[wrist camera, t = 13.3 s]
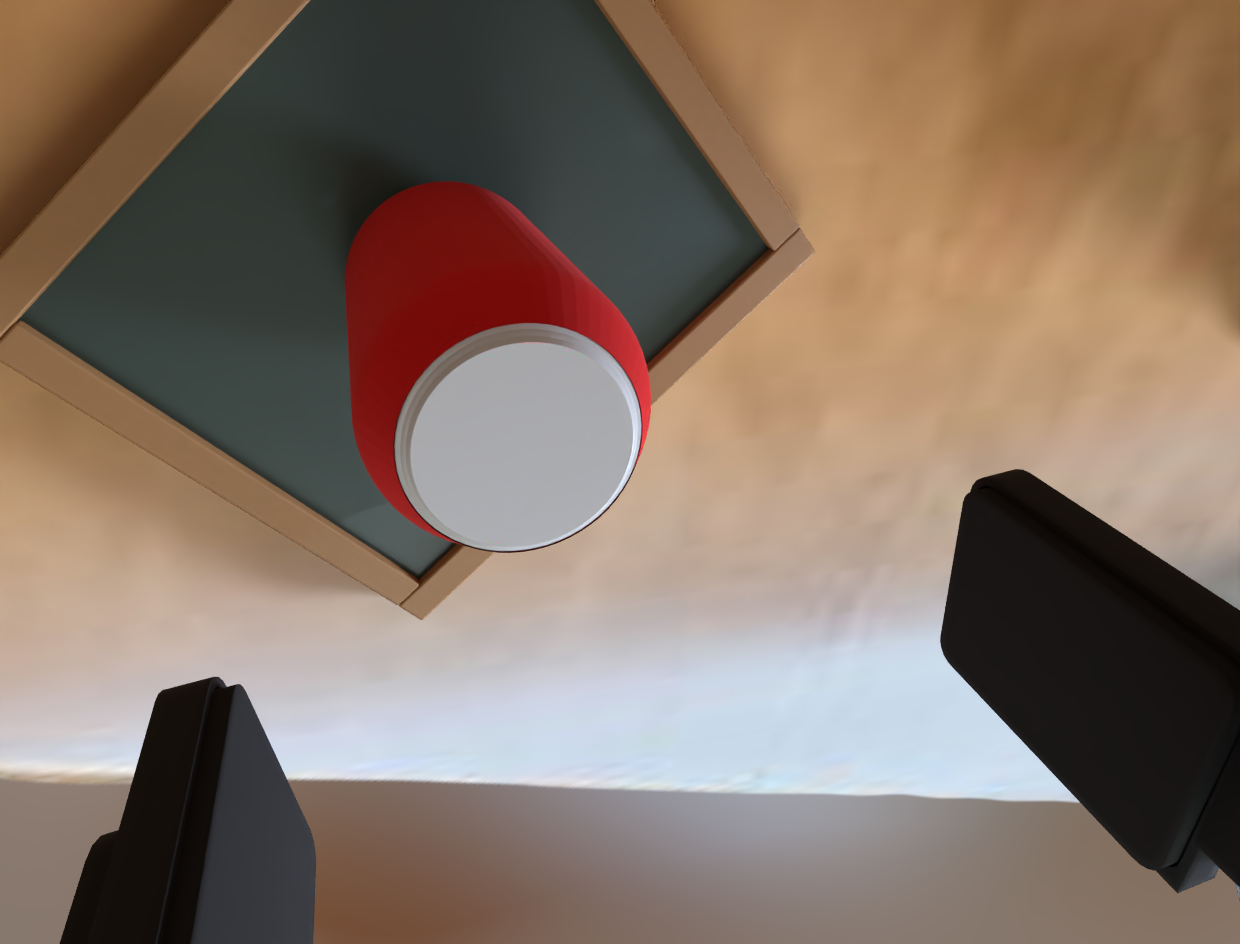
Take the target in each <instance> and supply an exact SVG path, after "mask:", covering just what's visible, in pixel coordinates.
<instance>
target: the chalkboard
mask: <svg viewBox="0 0 1240 944" xmlns="http://www.w3.org/2000/svg"><path fill="white" fill-rule="evenodd" d="M440 181H452V182H462V183H467V184H472V185H475V186H479V187H482V188H484V189H487V190H489V191H492V192H493V193H495V194H497V195H499V196H501V197H502V198H504V199H505V200H507V201H508V202H510V203H511V204H512V205H513V206H515V207H516V208H517V209H518V210H519V211H520V212H521V213H522V214H523V215H524V216H525V217H526V218H527V219H528V220H529V221H530V222H531V223H532V224H533V225H534V226H535V227H536V228H538V229H539V230H540V231H541V232H542V233H543V234H544V235H545V236H546V237H547V238H548V239H549V240H550V241H551V242H552V243H553V244H554V245H555V246H556V247H557V248H558V249H559V250H560V251H561V252H562V253H563V254H564V255H565V256H566V257H567V258H568V259H569V260H570V261H571V262H572V263H573V264H574V265H575V266H576V267H577V268H578V269H579V270H580V271H581V272H582V273H583V274H584V275H585V276H586V277H587V278H588V279H589V280H590V281H591V282H592V283H593V284H594V285H595V286H596V287H597V288H598V289H599V290H600V291H601V292H602V293H603V294H604V295H605V296H606V297H607V298H608V299H609V300H610V301H611V302H612V303H613V304H614V305H615V306H616V307H617V308H618V310H619V311H620V312H621V314H622V315H623V316H624V318H625V319H626V320H627V322H628V323H629V325H630V327H631V328H632V330H633V332H634V334H635V335H636V337H637V340H638V342H639V344H640V347H641V349H642V352H643V355H644V358H645V361H646V365H647V369H648V374H649V380H650V389H651V405H652V404H654V403H655V402H656V401H657V400H658V399H659V398H660V397H661V396H662V395H663V394H664V393H665V392H666V391H667V390H669V389H670V388H671V387H672V386H673V385H674V384H675V383H676V382H677V381H678V380H679V379H680V378H681V377H682V376H683V375H685V374H686V373H687V372H688V371H689V370H690V369H691V368H692V367H693V366H694V365H695V364H696V363H697V362H698V361H699V360H701V359H702V358H703V357H704V356H705V355H706V354H707V353H708V352H709V351H710V350H711V349H712V348H713V347H714V346H716V345H717V344H718V343H719V342H720V341H721V340H722V339H723V338H724V337H725V336H726V335H727V334H728V333H729V332H730V331H732V330H733V329H734V328H735V327H736V326H737V325H738V324H739V323H740V322H741V321H742V320H743V319H744V318H745V317H746V316H748V315H749V314H750V313H751V312H752V311H753V310H754V309H755V308H756V307H757V306H758V305H759V304H760V303H761V302H763V301H764V300H765V299H766V298H767V297H768V296H769V295H770V294H771V293H772V292H773V291H774V290H775V289H776V288H777V287H779V286H780V285H781V284H782V283H783V282H784V281H785V280H786V279H787V278H788V277H789V276H790V275H791V274H792V273H793V272H795V271H796V270H797V269H798V268H799V267H800V266H801V265H802V264H803V263H804V262H805V261H806V260H807V259H808V258H810V257H811V256H812V255H813V254H814V252H815V250H814V248H813V247H812V245H811V244H810V242H809V241H808V239H807V238H806V236H805V235H804V233H803V232H802V230H801V229H800V228H799V225H798V224H797V222H796V221H795V219H794V217H793V216H792V214H791V213H790V211H789V210H788V208H787V207H786V205H785V204H784V202H783V201H782V199H781V198H780V196H779V195H778V193H777V192H776V190H775V189H774V187H773V186H772V184H771V183H770V181H769V180H768V178H767V177H766V175H765V174H764V172H763V171H762V169H761V168H760V166H759V164H758V163H757V161H756V160H755V158H754V157H753V155H752V154H751V152H750V151H749V149H748V148H747V146H746V145H745V143H744V142H743V140H742V139H741V137H740V136H739V134H738V133H737V131H736V130H735V128H734V127H733V125H732V124H731V122H730V121H729V119H728V118H727V116H726V115H725V113H724V111H723V110H722V108H721V107H720V105H719V104H718V102H717V101H716V99H715V98H714V96H713V95H712V93H711V92H710V90H709V89H708V87H707V86H706V84H705V83H704V81H703V80H702V78H701V77H700V75H699V74H698V72H697V71H696V69H695V68H694V66H693V65H692V63H691V62H690V60H689V58H688V57H687V55H686V54H685V52H684V51H683V49H682V48H681V46H680V45H679V43H678V42H677V40H676V39H675V37H674V36H673V34H672V33H671V31H670V30H669V28H668V27H667V25H666V24H665V22H664V21H663V19H662V18H661V16H660V15H659V13H658V12H657V10H656V9H655V7H654V5H653V4H652V2H651V1H650V0H230V1H229V2H228V3H227V4H226V5H225V6H224V7H223V9H222V10H221V11H220V12H219V13H218V14H217V15H216V16H215V17H214V19H213V20H212V21H211V22H210V23H209V24H208V25H207V26H206V27H205V29H204V30H203V31H202V32H201V33H200V34H199V35H198V36H197V37H196V39H195V40H194V41H193V42H192V43H191V44H190V45H189V46H188V47H187V49H186V50H185V51H184V52H183V53H182V54H181V55H180V56H179V57H178V59H177V60H176V61H175V62H174V63H173V64H172V65H171V66H170V67H169V69H168V70H167V71H166V72H165V73H164V74H163V75H162V76H161V77H160V79H159V80H158V81H157V82H156V83H155V84H154V85H153V86H152V87H151V89H150V90H149V91H148V92H147V93H146V94H145V95H144V96H143V97H142V99H141V100H140V101H139V102H138V103H137V104H136V105H135V106H134V107H133V109H132V110H131V111H130V112H129V113H128V114H127V115H126V116H125V118H124V119H123V120H122V121H121V122H120V123H119V124H118V125H117V126H116V128H115V129H114V130H113V131H112V132H111V133H110V134H109V135H108V136H107V138H106V139H105V140H104V141H103V142H102V143H101V144H100V145H99V146H98V148H97V149H96V150H95V151H94V152H93V153H92V154H91V155H90V156H89V158H88V159H87V160H86V161H85V162H84V163H83V164H82V165H81V166H80V168H79V169H78V170H77V171H76V172H75V173H74V174H73V175H72V176H71V178H70V179H69V180H68V181H67V182H66V183H65V184H64V185H63V186H62V188H61V189H60V190H59V191H58V192H57V193H56V194H55V195H54V196H53V198H52V199H51V200H50V201H49V202H48V203H47V204H46V205H45V206H44V208H43V209H42V210H41V211H40V212H39V213H38V214H37V215H36V216H35V218H34V219H33V220H32V221H31V222H30V223H29V224H28V225H27V227H26V228H25V229H24V230H23V231H22V232H21V233H20V234H19V235H18V237H17V238H16V239H15V240H14V241H13V242H12V243H11V244H10V245H9V247H8V248H7V249H6V250H5V251H4V252H3V253H2V254H1V255H0V361H1V362H2V363H4V364H6V365H7V366H9V367H11V368H12V369H14V370H15V371H17V372H19V373H20V374H22V375H24V376H25V377H27V378H28V379H30V380H32V381H33V382H35V383H37V384H38V385H40V386H41V387H43V388H45V389H46V390H48V391H50V392H51V393H53V394H54V395H56V396H58V397H59V398H61V399H63V400H64V401H66V402H67V403H69V404H71V405H72V406H74V407H76V408H77V409H79V410H80V411H82V412H84V413H85V414H87V415H89V416H90V417H92V418H94V419H95V420H97V421H98V422H100V423H102V424H103V425H105V426H107V427H108V428H110V429H111V430H113V431H115V432H116V433H118V434H120V435H121V436H123V437H124V438H126V439H128V440H129V441H131V442H133V443H134V444H136V445H137V446H139V447H141V448H142V449H144V450H146V451H147V452H149V453H150V454H152V455H154V456H155V457H157V458H159V459H160V460H162V461H163V462H165V463H167V464H168V465H170V466H172V467H173V468H175V469H176V470H178V471H180V472H181V473H183V474H185V475H186V476H188V477H190V478H191V479H193V480H194V481H196V482H198V483H199V484H201V485H203V486H204V487H206V488H207V489H209V490H211V491H212V492H214V493H216V494H217V495H219V496H220V497H222V498H224V499H225V500H227V501H229V502H230V503H232V504H233V505H235V506H237V507H238V508H240V509H242V510H243V511H245V512H246V513H248V514H250V515H251V516H253V517H255V518H256V519H258V520H259V521H261V522H263V523H264V524H266V525H268V526H269V527H271V528H273V529H274V530H276V531H277V532H279V533H281V534H282V535H284V536H286V537H287V538H289V539H290V540H292V541H294V542H295V543H297V544H299V545H300V546H302V547H303V548H305V549H307V550H308V551H310V552H312V553H313V554H315V555H316V556H318V557H320V558H321V559H323V560H325V561H326V562H328V563H329V564H331V565H333V566H334V567H336V568H338V569H339V570H341V571H342V572H344V573H346V574H347V575H349V576H351V577H352V578H354V579H355V580H357V581H359V582H360V583H362V584H364V585H365V586H367V587H369V588H370V589H372V590H373V591H375V592H377V593H378V594H380V595H382V596H383V597H385V598H386V599H388V600H390V601H391V602H393V603H395V604H396V605H399V606H400V607H401V608H403V609H404V610H406V611H408V612H409V613H411V614H412V615H414V616H416V617H417V618H419V619H421V620H422V619H424V618H425V617H426V616H427V615H428V614H429V613H430V612H431V611H432V610H434V609H435V608H436V607H437V606H438V605H439V604H440V603H441V602H442V601H443V600H444V599H445V598H446V597H447V596H448V595H450V594H451V593H452V592H453V591H454V590H455V589H456V588H457V587H458V586H459V585H460V584H461V583H462V582H463V581H465V580H466V579H467V578H468V577H469V576H470V575H471V574H472V573H473V572H474V571H475V570H476V569H477V568H478V567H479V566H481V565H482V564H483V563H484V562H485V561H486V560H487V559H488V558H489V557H490V556H491V555H492V554H493V553H494V552H489V551H483V550H478V549H474V548H470V547H467V546H464V545H460V544H457V543H454V542H450V541H447V540H445V539H442V538H440V537H437V536H435V535H433V534H431V533H429V532H427V531H425V530H423V529H421V528H420V527H418V526H417V525H415V524H414V523H412V522H411V521H409V520H408V519H407V518H406V517H404V516H403V515H402V514H401V513H400V512H399V511H397V510H396V509H395V508H394V507H393V506H392V505H391V504H390V502H389V501H388V500H387V499H386V498H385V497H384V496H383V494H382V493H381V492H380V490H379V489H378V488H377V486H376V485H375V484H374V482H373V480H372V479H371V477H370V475H369V473H368V472H367V470H366V468H365V465H364V463H363V461H362V458H361V456H360V454H359V451H358V447H357V444H356V441H355V436H354V430H353V425H352V411H351V393H350V374H349V356H348V337H347V318H346V300H345V269H346V263H347V258H348V255H349V251H350V248H351V246H352V243H353V241H354V238H355V236H356V235H357V233H358V231H359V229H360V228H361V226H362V225H363V223H364V222H365V221H366V219H367V218H368V217H369V216H370V215H371V214H372V212H373V211H374V210H375V209H376V208H378V207H379V206H380V205H381V204H382V203H383V202H385V201H386V200H388V199H389V198H391V197H392V196H394V195H396V194H397V193H399V192H401V191H403V190H406V189H408V188H411V187H413V186H417V185H421V184H424V183H430V182H440ZM423 372H424V371H423Z"/></svg>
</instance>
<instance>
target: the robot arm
mask: <svg viewBox="0 0 1240 944" xmlns="http://www.w3.org/2000/svg"><path fill="white" fill-rule="evenodd" d="M940 643H941V648H942V651H943V654H944V656H945V658H946V659H947V661H948V662H949V664H950V665H951V666H952V667H953V668H954V669H955V670H956V671H957V672H958V673H959V674H960V676H961V677H962V678H963V679H964V680H965V681H966V682H967V683H968V684H969V685H970V686H971V687H972V688H973V689H974V690H975V691H976V692H977V694H978V695H979V696H980V697H981V698H982V699H983V700H984V701H985V702H986V703H987V704H988V705H989V706H990V707H991V708H992V709H993V710H994V712H995V713H996V714H997V715H998V716H999V717H1000V718H1001V719H1002V720H1003V721H1004V722H1005V723H1006V724H1007V725H1008V726H1009V727H1010V728H1011V730H1012V731H1013V732H1014V733H1015V734H1016V735H1017V736H1018V737H1019V738H1020V739H1021V740H1022V741H1023V742H1024V743H1025V744H1026V745H1027V746H1028V748H1029V749H1030V750H1031V751H1032V752H1033V753H1034V754H1035V755H1036V756H1037V757H1038V758H1039V759H1040V760H1041V761H1042V762H1043V763H1044V764H1045V766H1046V767H1047V768H1048V769H1049V770H1050V771H1051V772H1052V773H1053V774H1054V775H1055V776H1056V777H1057V778H1058V779H1059V780H1060V781H1061V782H1062V784H1063V785H1064V786H1065V787H1066V788H1067V789H1068V790H1069V791H1070V792H1071V793H1072V794H1073V795H1074V796H1075V797H1076V798H1077V799H1078V800H1079V801H1080V803H1081V804H1082V805H1083V806H1084V807H1085V808H1086V809H1087V810H1088V811H1089V812H1090V813H1091V814H1092V815H1093V816H1094V817H1095V818H1096V819H1097V821H1098V822H1099V823H1100V824H1101V825H1102V826H1103V827H1104V828H1105V829H1106V830H1107V831H1108V832H1109V833H1110V834H1111V835H1112V836H1113V837H1114V839H1115V840H1116V841H1117V842H1118V843H1119V844H1120V845H1121V846H1122V847H1123V848H1124V849H1125V850H1126V851H1127V852H1128V853H1129V854H1130V855H1131V857H1132V858H1134V859H1135V860H1136V861H1137V862H1138V863H1139V864H1141V865H1142V866H1144V867H1145V868H1147V869H1151V870H1156V871H1157V872H1158V873H1159V874H1160V875H1161V877H1162V878H1163V879H1164V880H1165V881H1166V882H1167V883H1168V884H1169V885H1170V886H1171V887H1172V888H1173V889H1174V890H1175V891H1176V892H1177V893H1179V892H1181V891H1184V890H1186V889H1188V888H1191V887H1194V886H1196V885H1198V884H1201V883H1203V882H1206V881H1208V880H1211V879H1213V878H1215V876H1216V874H1217V872H1218V870H1219V868H1220V869H1221V870H1222V871H1223V872H1224V873H1225V874H1226V875H1227V876H1229V878H1230V879H1232V880H1233V881H1234V882H1235V883H1236V888H1237V892H1238V896H1239V901H1240V610H1238V609H1237V608H1235V607H1234V606H1232V605H1231V604H1229V603H1228V602H1226V601H1225V600H1223V599H1222V598H1220V597H1218V596H1217V595H1215V594H1214V593H1212V592H1211V591H1209V590H1208V589H1206V588H1205V587H1203V586H1202V585H1200V584H1199V583H1197V582H1196V581H1194V580H1192V579H1191V578H1189V577H1188V576H1186V575H1185V574H1183V573H1182V572H1180V571H1179V570H1177V569H1176V568H1174V567H1173V566H1171V565H1170V564H1168V563H1167V562H1165V561H1163V560H1162V559H1160V558H1159V557H1157V556H1156V555H1154V554H1153V553H1151V552H1150V551H1148V550H1147V549H1145V548H1144V547H1142V546H1141V545H1139V544H1137V543H1136V542H1134V541H1133V540H1131V539H1130V538H1128V537H1127V536H1125V535H1124V534H1122V533H1121V532H1119V531H1118V530H1116V529H1115V528H1113V527H1112V526H1110V525H1108V524H1107V523H1105V522H1104V521H1102V520H1101V519H1099V518H1098V517H1096V516H1095V515H1093V514H1092V513H1090V512H1089V511H1087V510H1086V509H1084V508H1082V507H1081V506H1079V505H1078V504H1076V503H1075V502H1073V501H1072V500H1070V499H1069V498H1067V497H1066V496H1064V495H1063V494H1061V493H1060V492H1058V491H1057V490H1055V489H1053V488H1052V487H1050V486H1049V485H1047V484H1046V483H1044V482H1043V481H1041V480H1040V479H1038V478H1037V477H1035V476H1034V475H1032V474H1031V473H1029V472H1027V471H1024V470H1020V469H1015V470H1011V471H1007V472H1003V473H999V474H995V475H992V476H988V477H984V478H981V479H979V480H977V481H976V482H975V483H974V484H973V486H972V489H971V492H970V493H968V494H967V495H966V496H965V498H964V501H963V506H962V512H961V518H960V524H959V530H958V536H957V542H956V547H955V553H954V559H953V565H952V571H951V577H950V583H949V589H948V595H947V601H946V607H945V613H944V619H943V625H942V631H941V639H940ZM315 874H316V854H315V846H314V841H313V837H312V833H311V830H310V828H309V826H308V824H307V821H306V819H305V817H304V815H303V813H302V811H301V809H300V807H299V804H298V802H297V800H296V798H295V796H294V794H293V792H292V790H291V787H290V785H289V783H288V781H287V779H286V777H285V774H284V772H283V770H282V768H281V766H280V764H279V762H278V759H277V757H276V755H275V753H274V751H273V749H272V747H271V744H270V742H269V740H268V738H267V736H266V734H265V732H264V729H263V727H262V725H261V723H260V721H259V719H258V717H257V714H256V712H255V710H254V708H253V706H252V704H251V702H250V699H249V697H248V695H247V693H246V691H245V690H244V688H243V687H242V686H241V685H240V684H237V685H233V686H229V687H226V685H225V683H224V682H223V680H221V679H220V678H219V677H212V678H208V679H204V680H200V681H196V682H192V683H188V684H185V685H181V686H177V687H173V688H169V689H165V690H162V691H161V692H160V693H159V694H158V696H157V698H156V701H155V704H154V707H153V711H152V714H151V718H150V721H149V725H148V728H147V732H146V735H145V739H144V742H143V746H142V750H141V753H140V757H139V760H138V764H137V767H136V771H135V774H134V778H133V781H132V785H131V788H130V792H129V795H128V799H127V803H126V806H125V810H124V813H123V817H122V820H121V824H120V827H119V830H118V831H114V832H111V833H108V834H105V835H102V836H100V837H99V839H98V840H97V841H96V842H95V843H94V844H93V845H92V847H91V850H90V852H89V854H88V857H87V859H86V861H85V864H84V868H83V871H82V874H81V877H80V881H79V883H78V887H77V890H76V893H75V896H74V899H73V903H72V906H71V909H70V912H69V915H68V919H67V922H66V925H65V929H64V931H63V935H62V939H61V941H60V944H313V930H314V903H315V876H316V875H315Z"/></svg>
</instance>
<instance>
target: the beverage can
mask: <svg viewBox="0 0 1240 944" xmlns="http://www.w3.org/2000/svg"><path fill="white" fill-rule="evenodd" d="M345 300H346V318H347V337H348V356H349V374H350V393H351V411H352V425H353V430H354V436H355V441H356V444H357V447H358V451H359V454H360V456H361V458H362V461H363V463H364V465H365V468H366V470H367V472H368V473H369V475H370V477H371V479H372V480H373V482H374V484H375V485H376V486H377V488H378V489H379V490H380V492H381V493H382V494H383V496H384V497H385V498H386V499H387V500H388V501H389V502H390V504H391V505H392V506H393V507H394V508H395V509H396V510H397V511H399V512H400V513H401V514H402V515H403V516H404V517H406V518H407V519H408V520H409V521H411V522H412V523H414V524H415V525H417V526H418V527H420V528H421V529H423V530H425V531H427V532H429V533H431V534H433V535H435V536H437V537H440V538H442V539H445V540H447V541H450V542H454V543H457V544H460V545H464V546H467V547H470V548H474V549H478V550H483V551H489V552H499V553H513V552H525V551H530V550H536V549H540V548H544V547H547V546H550V545H553V544H556V543H559V542H561V541H563V540H565V539H567V538H570V537H571V536H573V535H575V534H577V533H579V532H580V531H582V530H583V529H585V528H586V527H588V526H589V525H591V524H592V523H593V522H594V521H596V520H597V519H598V518H599V517H600V516H601V515H602V514H604V513H605V512H606V511H607V510H608V509H609V507H610V506H611V505H612V504H613V503H614V502H615V501H616V499H617V498H618V497H619V495H620V494H621V492H622V491H623V490H624V488H625V486H626V484H627V483H628V481H629V479H630V477H631V475H632V473H633V471H634V468H635V466H636V464H637V461H638V459H639V456H640V454H641V451H642V449H643V446H644V443H645V439H646V435H647V431H648V427H649V421H650V413H651V389H650V380H649V374H648V369H647V365H646V361H645V358H644V355H643V352H642V349H641V347H640V344H639V342H638V340H637V337H636V335H635V334H634V332H633V330H632V328H631V327H630V325H629V323H628V322H627V320H626V319H625V318H624V316H623V315H622V314H621V312H620V311H619V310H618V308H617V307H616V306H615V305H614V304H613V303H612V302H611V301H610V300H609V299H608V298H607V297H606V296H605V295H604V294H603V293H602V292H601V291H600V290H599V289H598V288H597V287H596V286H595V285H594V284H593V283H592V282H591V281H590V280H589V279H588V278H587V277H586V276H585V275H584V274H583V273H582V272H581V271H580V270H579V269H578V268H577V267H576V266H575V265H574V264H573V263H572V262H571V261H570V260H569V259H568V258H567V257H566V256H565V255H564V254H563V253H562V252H561V251H560V250H559V249H558V248H557V247H556V246H555V245H554V244H553V243H552V242H551V241H550V240H549V239H548V238H547V237H546V236H545V235H544V234H543V233H542V232H541V231H540V230H539V229H538V228H536V227H535V226H534V225H533V224H532V223H531V222H530V221H529V220H528V219H527V218H526V217H525V216H524V215H523V214H522V213H521V212H520V211H519V210H518V209H517V208H516V207H515V206H513V205H512V204H511V203H510V202H508V201H507V200H505V199H504V198H502V197H501V196H499V195H497V194H495V193H493V192H492V191H489V190H487V189H484V188H482V187H479V186H475V185H472V184H467V183H462V182H452V181H440V182H430V183H424V184H421V185H417V186H413V187H411V188H408V189H406V190H403V191H401V192H399V193H397V194H396V195H394V196H392V197H391V198H389V199H388V200H386V201H385V202H383V203H382V204H381V205H380V206H379V207H378V208H376V209H375V210H374V211H373V212H372V214H371V215H370V216H369V217H368V218H367V219H366V221H365V222H364V223H363V225H362V226H361V228H360V229H359V231H358V233H357V235H356V236H355V238H354V241H353V243H352V246H351V248H350V251H349V255H348V258H347V263H346V269H345ZM423 371H424V372H423Z"/></svg>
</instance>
